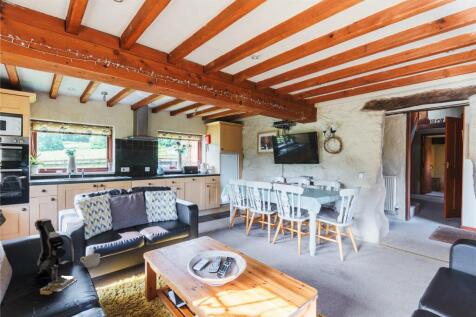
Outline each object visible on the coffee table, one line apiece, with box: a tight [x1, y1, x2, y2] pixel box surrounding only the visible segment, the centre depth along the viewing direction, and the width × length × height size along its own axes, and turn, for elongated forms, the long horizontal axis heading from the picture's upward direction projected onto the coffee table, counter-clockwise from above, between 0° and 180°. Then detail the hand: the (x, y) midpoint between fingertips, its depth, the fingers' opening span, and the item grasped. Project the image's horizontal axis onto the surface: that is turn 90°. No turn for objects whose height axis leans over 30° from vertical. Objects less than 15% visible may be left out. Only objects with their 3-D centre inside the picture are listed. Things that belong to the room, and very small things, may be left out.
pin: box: [51, 265, 58, 281], centre depth 163 cm, size 4×4×9 cm
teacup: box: [79, 253, 101, 269], centre depth 181 cm, size 14×11×8 cm
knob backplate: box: [39, 275, 77, 296], centre depth 153 cm, size 14×17×2 cm
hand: (54, 276), depth 163 cm, fingers open, 6 cm apart
